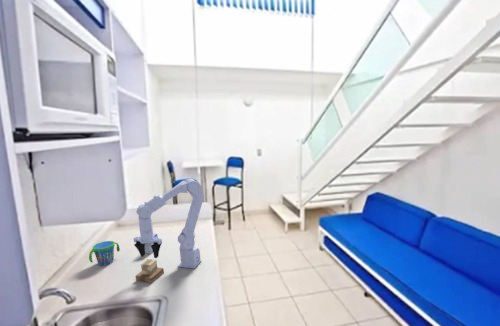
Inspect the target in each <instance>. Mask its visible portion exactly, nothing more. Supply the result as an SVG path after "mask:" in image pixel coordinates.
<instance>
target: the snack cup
mask: <svg viewBox="0 0 500 326" xmlns="http://www.w3.org/2000/svg"><path fill="white" fill-rule="evenodd" d="M115 245H116V251H117V252H120V245H119V244H118V243H117V242H116V241H113V240H106V241H101V242H97V243H96V244H94V245H93V246H92V249H91V250H90V251H89V255H88V260H89V262H90V263H93V256H92V255H93V254H94V255H95V259H96V262H97V264H98V265H99V266H107V265H110V264H111V263H113V262H114V259H115V258H114V257H115Z"/></svg>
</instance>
